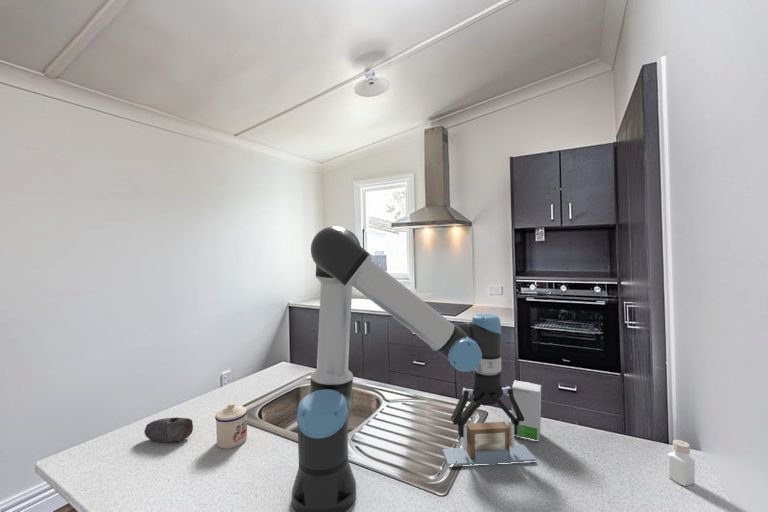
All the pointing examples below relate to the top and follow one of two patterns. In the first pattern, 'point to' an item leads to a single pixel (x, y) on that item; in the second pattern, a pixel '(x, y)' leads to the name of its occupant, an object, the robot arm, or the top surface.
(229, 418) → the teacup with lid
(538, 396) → the skincare box
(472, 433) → the walnut frame
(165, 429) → the perforated stone tool
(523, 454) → the picture ledge
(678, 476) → the pepper shaker
